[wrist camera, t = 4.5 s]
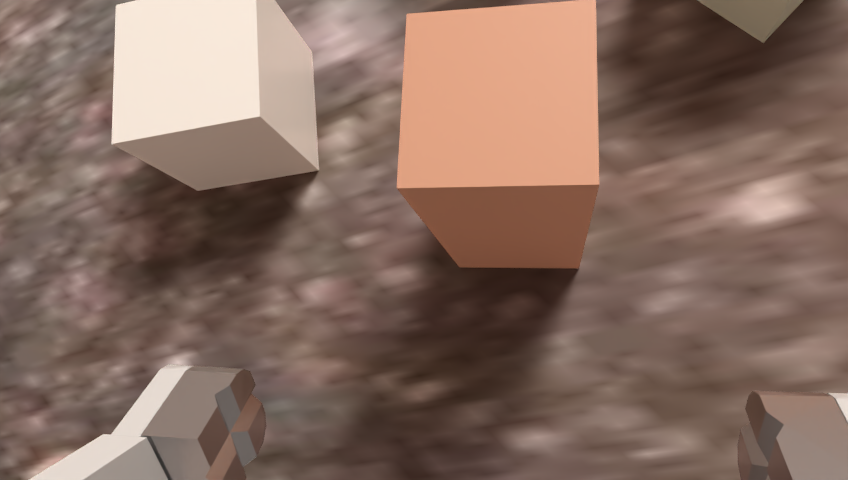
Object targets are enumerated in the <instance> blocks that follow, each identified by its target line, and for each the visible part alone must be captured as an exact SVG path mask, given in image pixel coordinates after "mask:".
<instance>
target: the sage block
mask: <svg viewBox="0 0 848 480" xmlns="http://www.w3.org/2000/svg"><path fill="white" fill-rule="evenodd" d="M697 1H699V2H700V3H702V4H703V5H705V6H706V7H708V8H709V9H711V10H713V11H714V12H716V13H717V14H719V15H720V16H722V17H723V18H725V19H727V20H728V21H730V22H731V23H733V24H734V25H736V26H737V27H739V28H740V29H742V30H744V31H745V32H747V33H748V34H750V35H751V36H753V37H754V38H756V39H758V40H759V41H761V42H762V43H764V42H765V41H766V40H767V39H768V38H769V37H770V36H771V34H772V33H773V32H774V31H775V30H776V29H777V28H778V27H779V26H780V25H781V24H782V23H783V22H784V21H785V20H786V19H787V17H788V16H789V15H790V14H791V13H792V12H793V11H794V10H795V9H796V8H797V7H798V6H799V5H800V4H801V3H802V2H803V0H697Z"/></svg>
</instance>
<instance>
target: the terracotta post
mask: <svg viewBox="0 0 848 480" xmlns="http://www.w3.org/2000/svg"><path fill="white" fill-rule="evenodd" d="M598 188H599V145H598V91H597V37H596V0H578V1H565V2H552V3H539V4H526V5H513V6H500V7H487V8H475V9H462V10H449V11H436V12H423V13H410V14H407V18H406V36H405V53H404V71H403V88H402V106H401V123H400V141H399V158H398V176H397V189H398V190H399V192H400V193H401V194H402V195H403V197H404V198H405V199H406V200H407V202H408V203H409V204H410V206H411V207H412V208H413V209H414V211H415V212H416V213H417V214H418V216H419V217H420V218H421V219H422V221H423V222H424V223H425V224H426V226H427V227H428V228H429V230H430V231H431V232H432V233H433V235H434V236H435V237H436V238H437V240H438V241H439V242H440V243H441V245H442V246H443V247H444V248H445V250H446V251H447V252H448V254H449V255H450V256H451V257H452V259H453V260H454V261H455V262H456V264H457V265H458V266H459V267H468V268H579V266H580V262H581V258H582V253H583V249H584V245H585V241H586V237H587V233H588V229H589V225H590V221H591V216H592V212H593V208H594V204H595V200H596V196H597V192H598Z"/></svg>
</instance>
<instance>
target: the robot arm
mask: <svg viewBox="0 0 848 480" xmlns="http://www.w3.org/2000/svg"><path fill="white" fill-rule="evenodd" d="M255 385H256V384H255V382H254V379H253V377H252V374H251V372H250V371H248V370H245V369H235V368H220V367H206V366H184V365H170V364H169V365H167V366H165V367H163V368H162V369H160V370H159V372H158V373H157V374H156V376H155V377H154V378H153V380H152V381H151V382H150V384H149V385H148V386H147V388H146V389H145V390H144V392H143V393H142V394H141V396H140V397H139V398H138V400H137V401H136V402H135V404H134V405H133V406H132V407H131V409H130V410H129V411H128V413H127V414H126V415H125V417H124V418H123V419H122V421H121V422H120V423H119V425H118V426H117V427H116V429H115V430H114V431H113V433H112V434H111V435H108V434H103V435H101V436H100V437H98V438H96V439H95V440H93V441H91V442H90V443H88V444H87V445H85V446H83V447H82V448H80V449H78V450H77V451H75V452H73V453H72V454H70V455H69V456H67V457H65V458H64V459H62V460H60V461H59V462H57V463H55V464H54V465H52V466H51V467H49V468H47V469H46V470H44V471H42V472H41V473H39V474H37V475H36V476H34V477H33V478H31V479H29V480H246V475H245V471H244V466H245V465H246V464H247V463H249V462H250V461H251V460H253V459H254V458H255V457H257V455H258V453H259V450H260V448H261V446H262V444H263V441H264V435H265V430H266V415H265V411H264V408H263V405H262V403H261V402H260V401H259V400H258V399H257V398H256V397H254V396H253V395H252V394H251V393H252V391H253V389H254V387H255ZM745 409H746V412H747V415H748V418H749V421H750V423H748V424H747V425H746V426H744V427H743V428H742V429H740V435H739V440H738V466H739V472H740V477H741V480H848V394H845V393H827V394H825V393H813V392H784V391H754V390H753V391H752V392H751V394H750V395H749V396H748V400H747V404H746V408H745Z"/></svg>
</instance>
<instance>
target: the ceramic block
mask: <svg viewBox="0 0 848 480" xmlns="http://www.w3.org/2000/svg"><path fill="white" fill-rule="evenodd" d="M112 144H113V145H114V146H116V147H118V148H120V149H122V150H124V151H125V152H127V153H129V154H131V155H133V156H135V157H136V158H138V159H140V160H142V161H144V162H146V163H147V164H149V165H151V166H153V167H155V168H157V169H159V170H160V171H162V172H164V173H166V174H168V175H170V176H171V177H173V178H175V179H177V180H179V181H181V182H182V183H184V184H186V185H188V186H190V187H192V188H193V189H195V190H197V191H200V190H206V189H212V188H218V187H224V186H230V185H236V184H242V183H248V182H254V181H260V180H266V179H272V178H278V177H284V176H289V175H295V174H301V173H307V172H313V171H319V163H318V145H317V127H316V110H315V92H314V75H313V57H312V51H311V50H310V49H309V47H308V46H307V45H306V43H305V42H304V40H303V39H302V38H301V36H300V35H299V33H298V32H297V31H296V29H295V28H294V26H293V25H292V24H291V22H290V21H289V19H288V18H287V17H286V15H285V14H284V13H283V11H282V10H281V8H280V7H279V6H278V4H277V3H276V1H275V0H136V1H132V2H127V3H123V4H119V5H116V20H115V52H114V84H113V116H112Z"/></svg>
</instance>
